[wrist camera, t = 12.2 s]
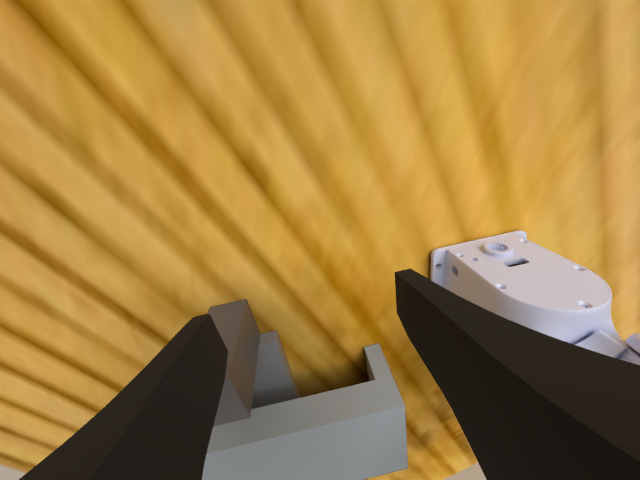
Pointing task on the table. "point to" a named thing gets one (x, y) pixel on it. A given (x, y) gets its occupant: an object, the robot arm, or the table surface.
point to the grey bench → (318, 434)
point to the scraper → (250, 364)
